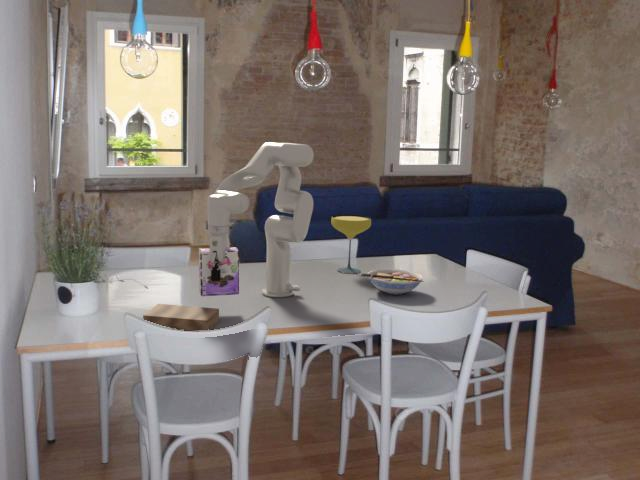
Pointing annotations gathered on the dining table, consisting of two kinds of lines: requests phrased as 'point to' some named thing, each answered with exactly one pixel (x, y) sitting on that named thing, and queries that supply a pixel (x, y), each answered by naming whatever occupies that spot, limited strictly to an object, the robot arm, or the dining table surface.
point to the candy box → (227, 272)
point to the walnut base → (183, 316)
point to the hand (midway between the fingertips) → (219, 277)
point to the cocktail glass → (350, 231)
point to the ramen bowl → (394, 280)
